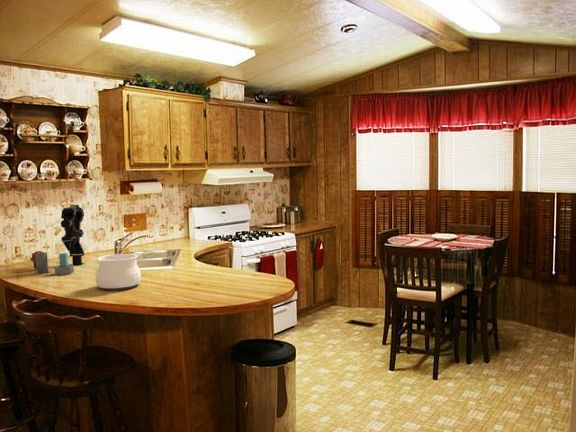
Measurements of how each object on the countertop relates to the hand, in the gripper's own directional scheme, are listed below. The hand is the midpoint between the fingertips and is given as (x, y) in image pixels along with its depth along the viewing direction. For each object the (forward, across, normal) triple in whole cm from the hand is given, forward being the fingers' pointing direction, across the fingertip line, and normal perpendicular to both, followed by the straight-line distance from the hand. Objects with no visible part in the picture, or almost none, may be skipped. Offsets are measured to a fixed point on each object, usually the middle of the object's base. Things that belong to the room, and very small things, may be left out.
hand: (70, 249), depth 353 cm
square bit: (+13, -16, 0) cm, 20 cm away
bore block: (+13, -16, 0) cm, 20 cm away
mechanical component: (+13, +2, +21) cm, 25 cm away
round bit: (+13, -10, +15) cm, 23 cm away
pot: (+13, -63, -42) cm, 77 cm away
